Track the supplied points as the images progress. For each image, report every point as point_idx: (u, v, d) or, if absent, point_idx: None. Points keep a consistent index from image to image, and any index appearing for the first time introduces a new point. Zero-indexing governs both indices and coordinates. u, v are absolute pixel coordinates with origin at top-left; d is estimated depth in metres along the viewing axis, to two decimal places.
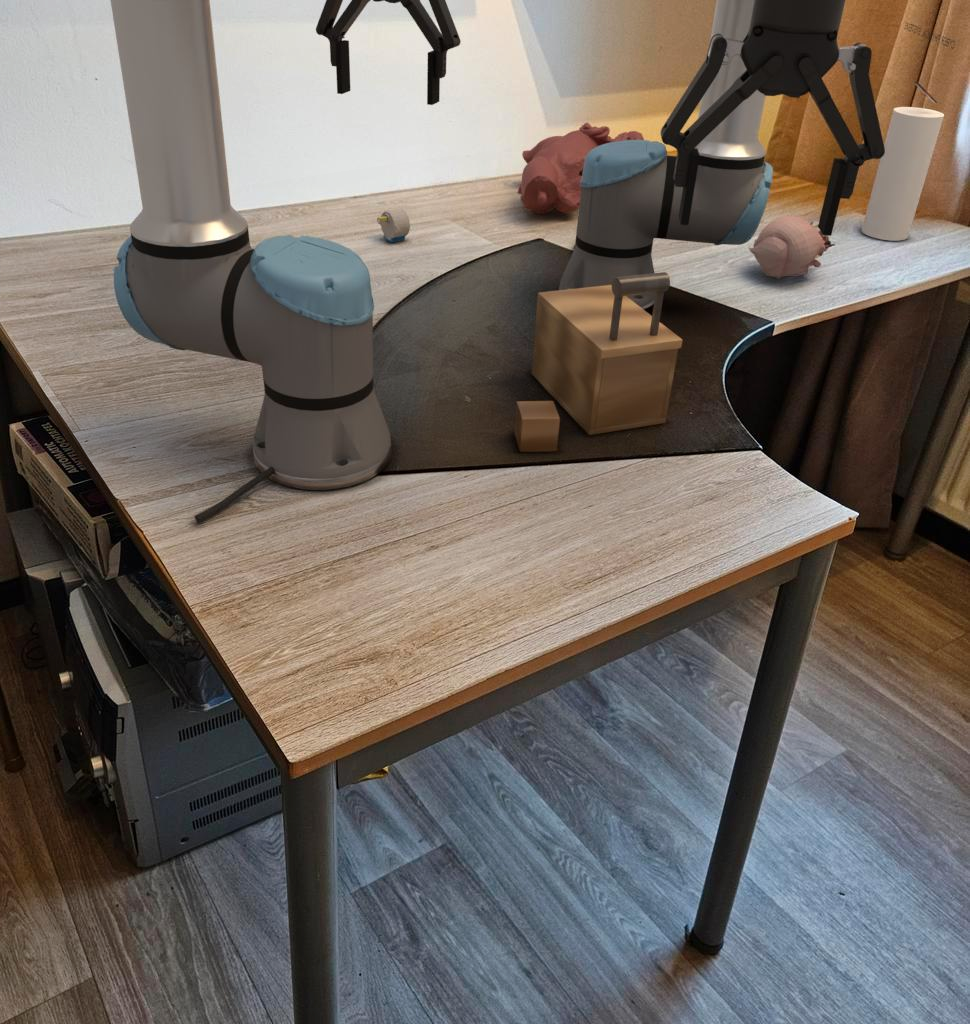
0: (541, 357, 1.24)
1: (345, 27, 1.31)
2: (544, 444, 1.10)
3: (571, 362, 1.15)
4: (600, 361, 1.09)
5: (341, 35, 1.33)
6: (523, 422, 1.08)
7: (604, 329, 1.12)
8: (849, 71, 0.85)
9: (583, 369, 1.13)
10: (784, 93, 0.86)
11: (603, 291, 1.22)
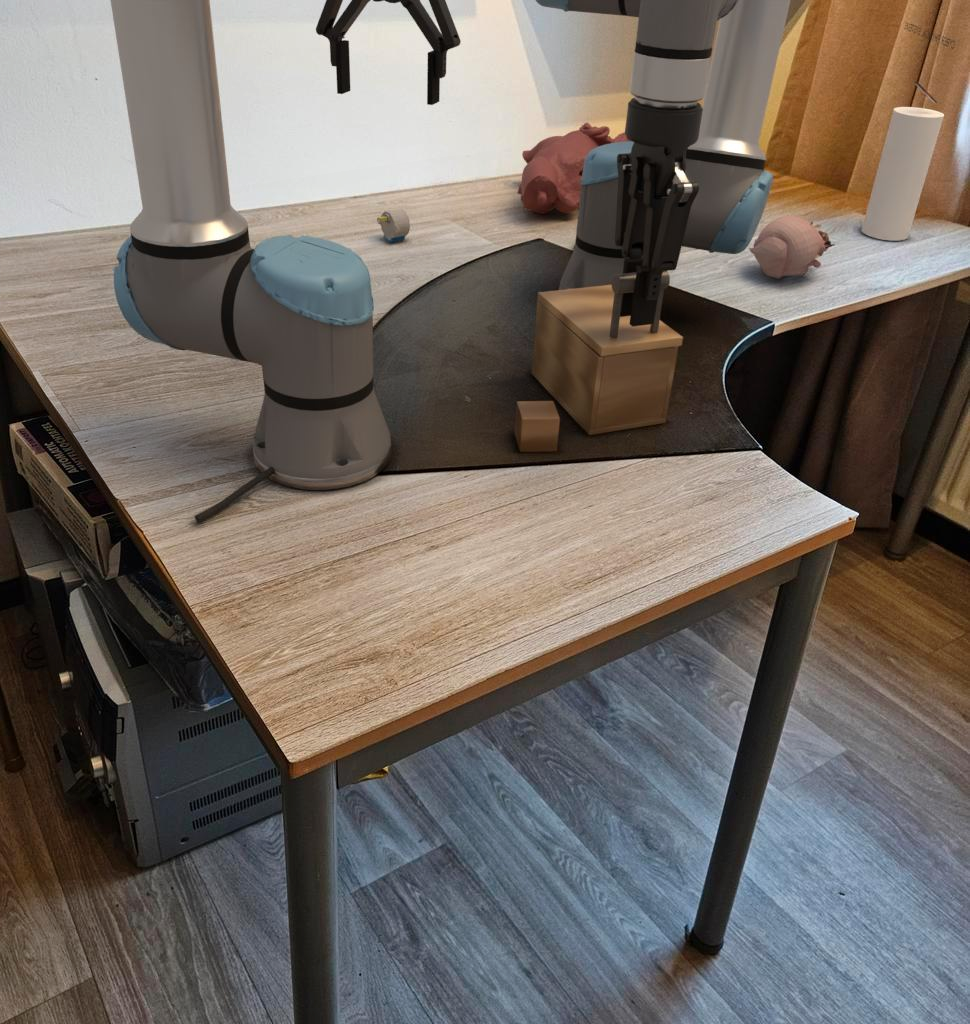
0: (541, 357, 1.24)
1: (345, 27, 1.31)
2: (544, 444, 1.10)
3: (571, 362, 1.15)
4: (600, 361, 1.09)
5: (341, 35, 1.33)
6: (523, 422, 1.08)
7: (604, 327, 1.12)
8: None
9: (583, 369, 1.13)
10: None
11: (603, 291, 1.22)
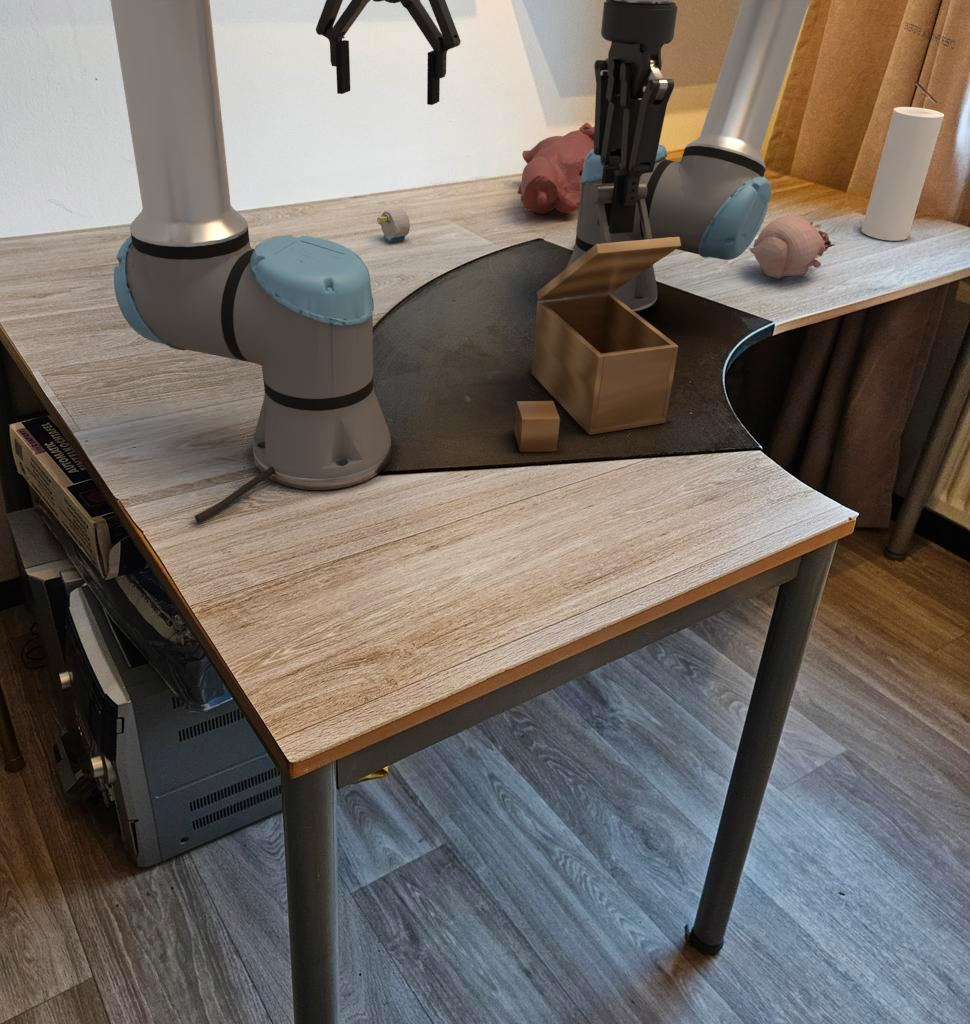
0: (541, 357, 1.24)
1: (345, 27, 1.31)
2: (544, 444, 1.10)
3: (571, 361, 1.15)
4: (600, 361, 1.09)
5: (341, 35, 1.33)
6: (523, 422, 1.08)
7: None
8: None
9: (583, 369, 1.13)
10: None
11: None
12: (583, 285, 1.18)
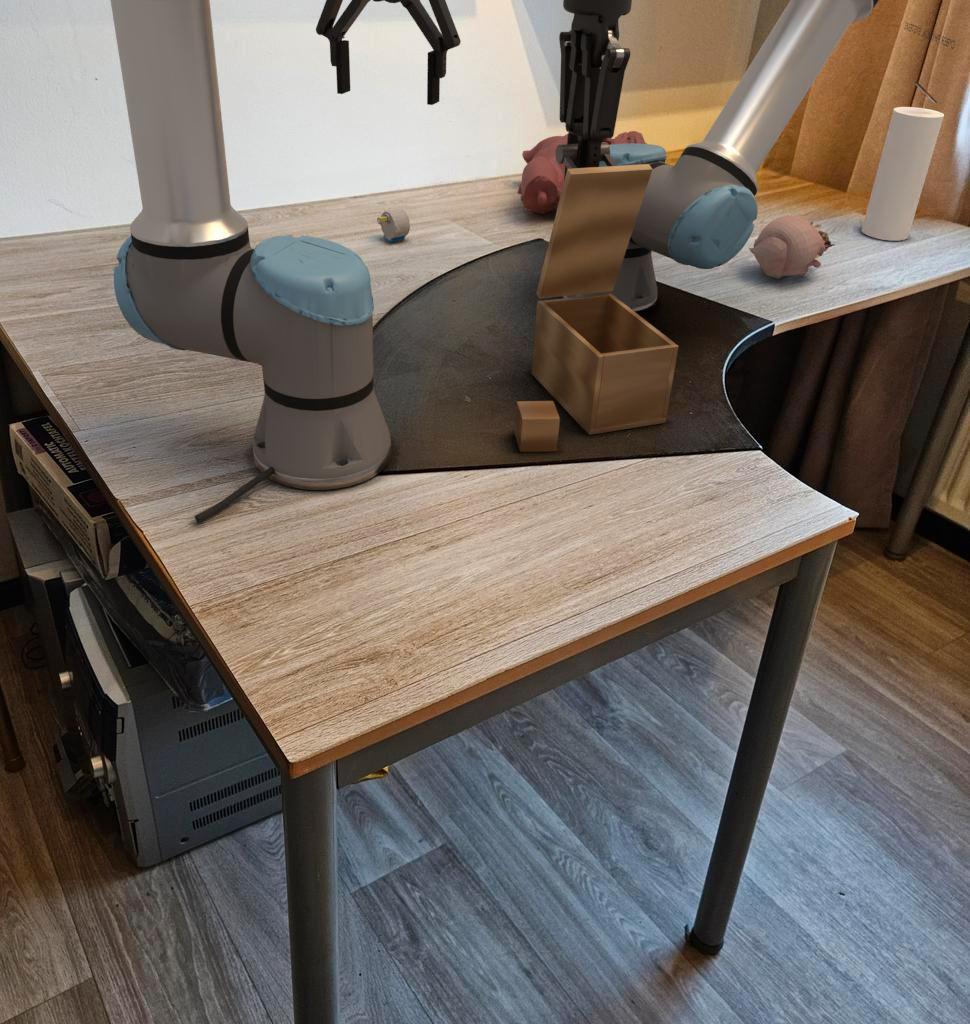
0: (541, 357, 1.24)
1: (345, 27, 1.31)
2: (544, 444, 1.10)
3: (571, 361, 1.15)
4: (600, 361, 1.09)
5: (341, 35, 1.33)
6: (523, 422, 1.08)
7: None
8: None
9: (583, 369, 1.13)
10: None
11: None
12: (577, 263, 1.19)
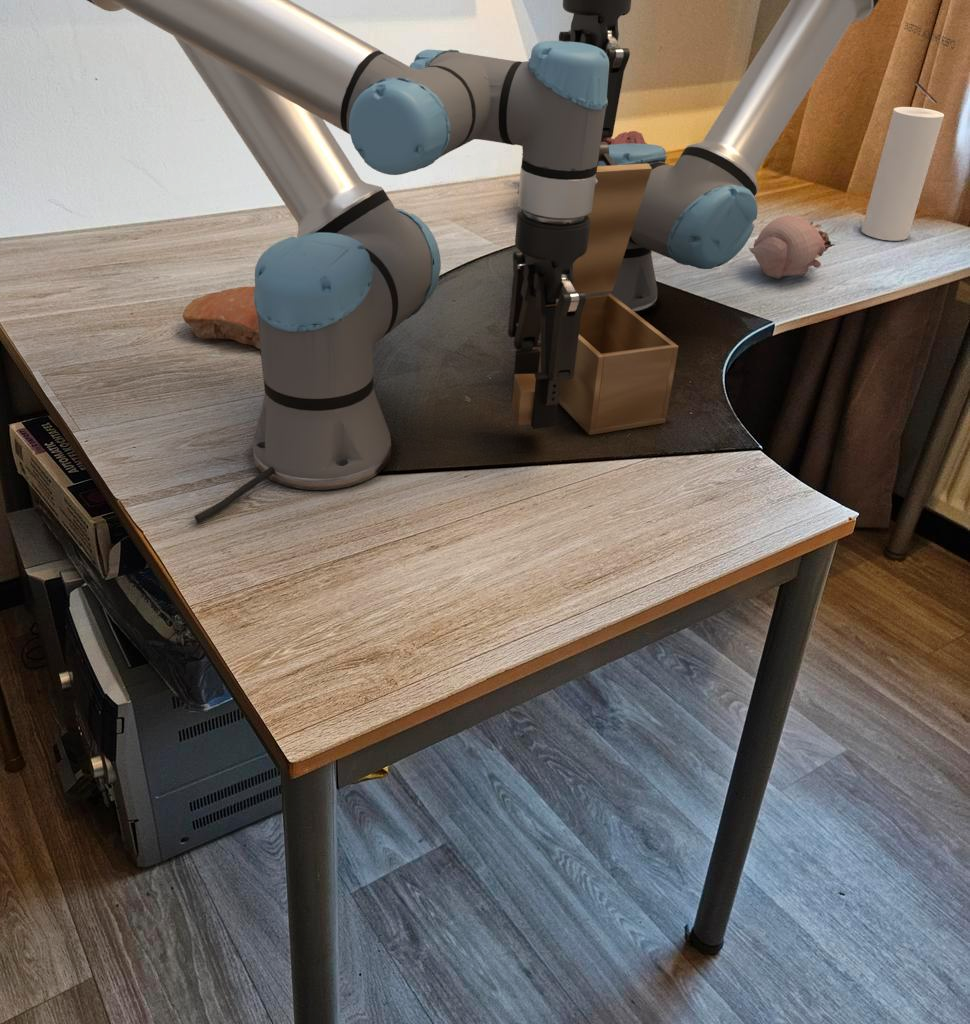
0: None
1: (525, 331, 1.07)
2: None
3: None
4: (600, 361, 1.09)
5: (531, 342, 1.09)
6: (522, 394, 1.07)
7: None
8: None
9: (583, 369, 1.13)
10: None
11: None
12: (576, 263, 1.19)
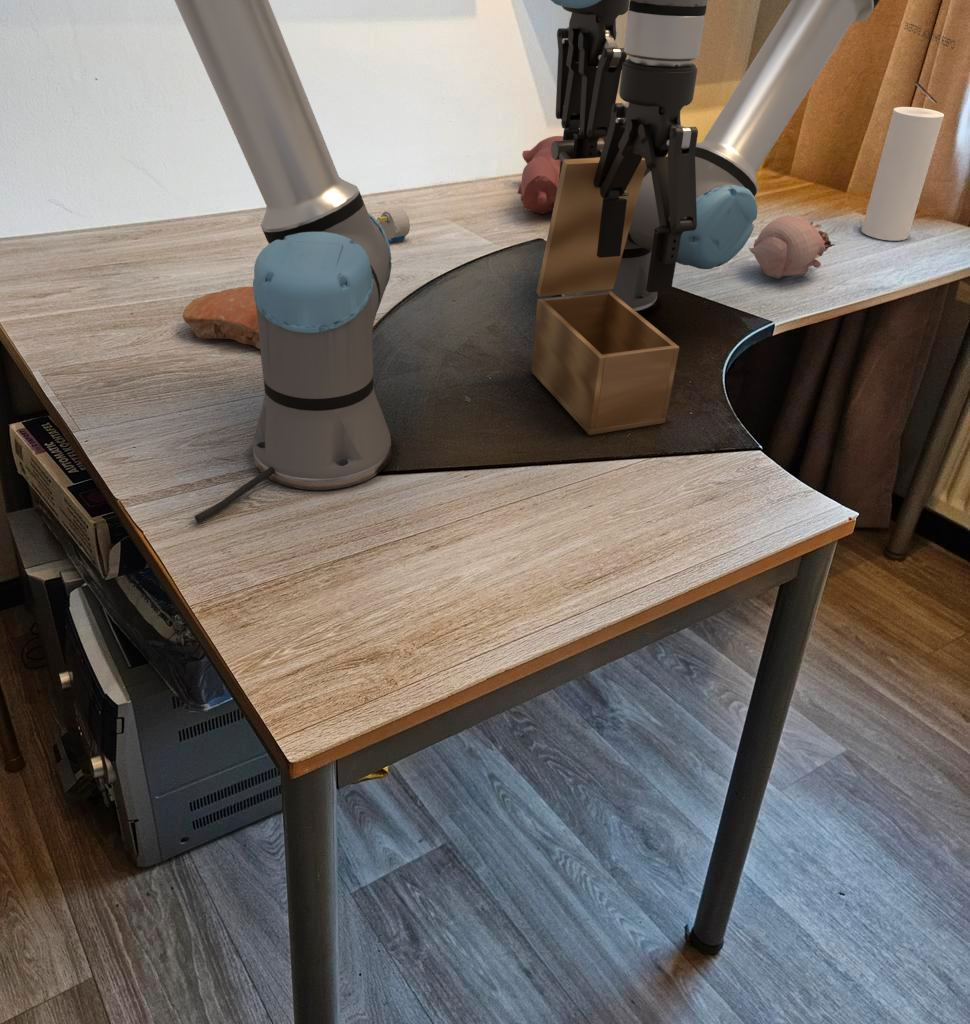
0: (541, 355, 1.23)
1: (615, 182, 1.07)
2: None
3: (572, 361, 1.15)
4: (601, 362, 1.09)
5: (618, 191, 1.09)
6: None
7: None
8: None
9: (584, 369, 1.13)
10: None
11: None
12: (576, 259, 1.18)
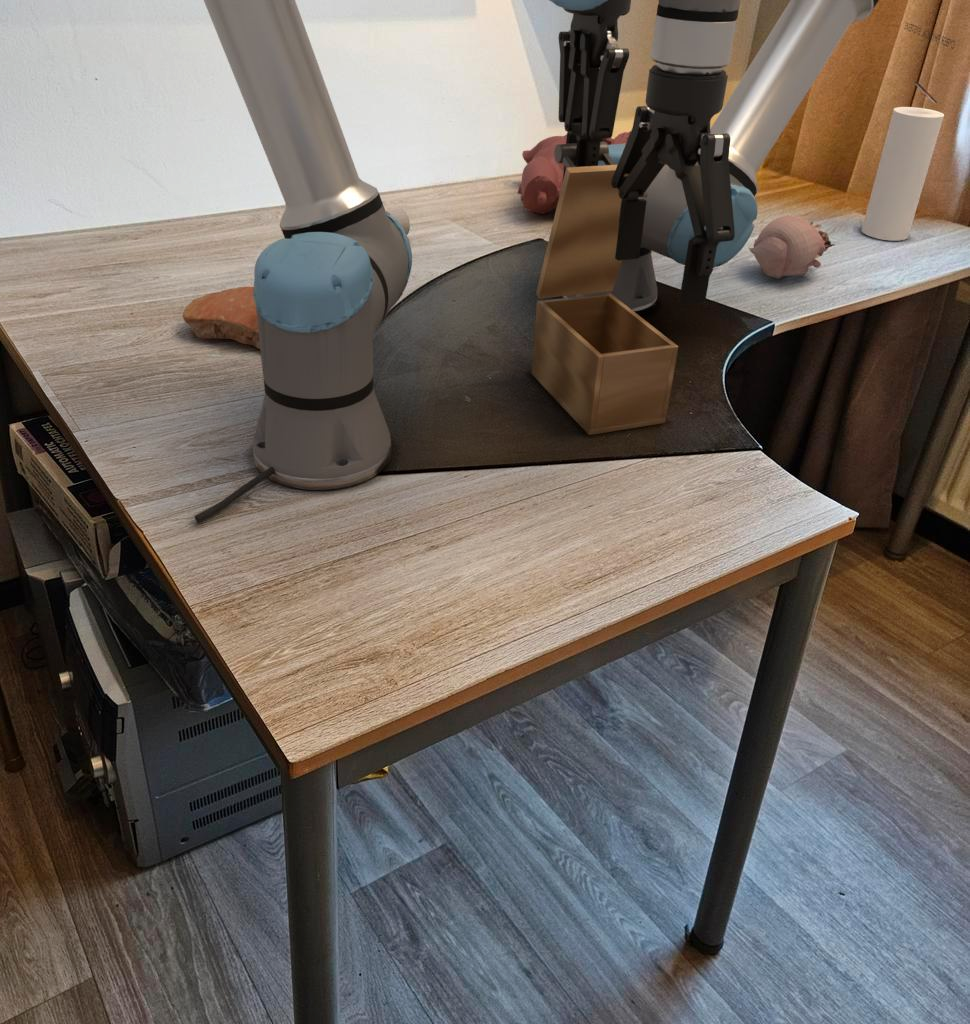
0: (541, 357, 1.24)
1: (635, 185, 1.04)
2: None
3: (571, 361, 1.15)
4: (600, 361, 1.09)
5: (637, 193, 1.06)
6: None
7: None
8: None
9: (583, 369, 1.13)
10: None
11: None
12: (576, 263, 1.19)
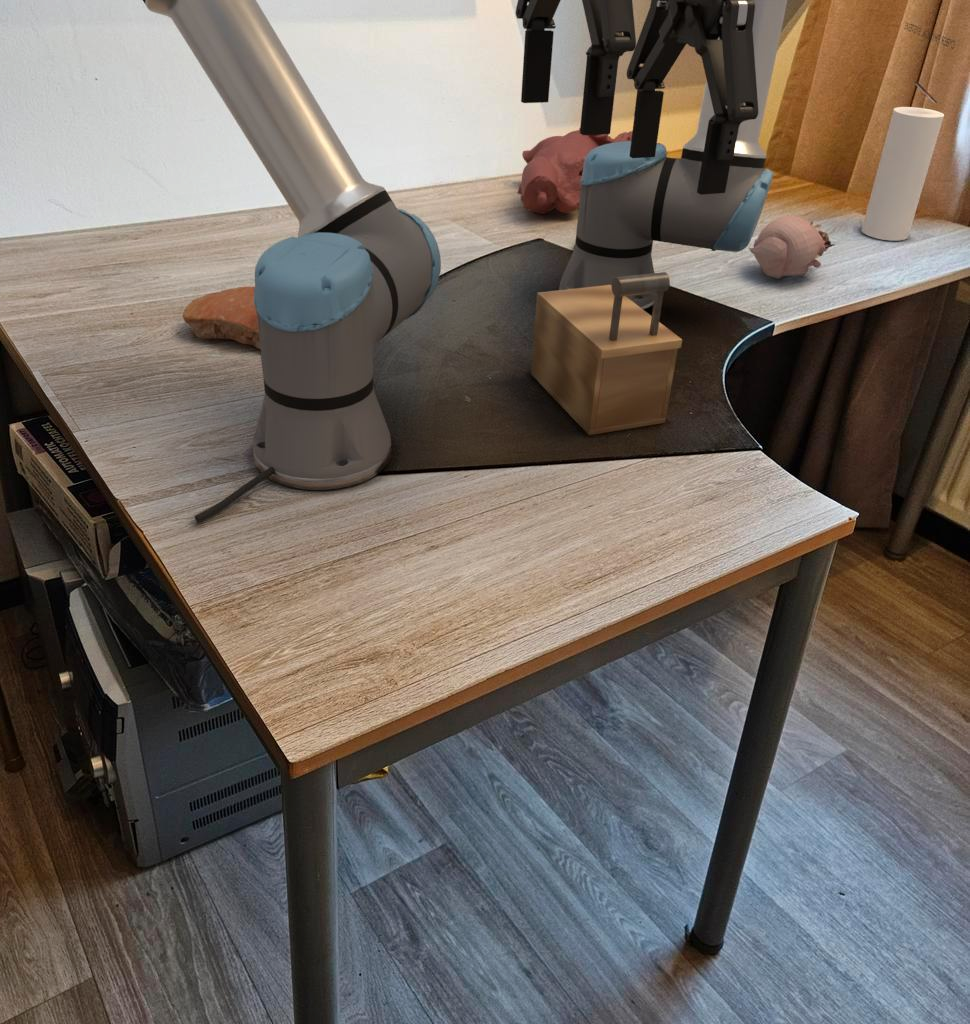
0: (540, 357, 1.24)
1: (538, 10, 0.92)
2: None
3: (571, 362, 1.15)
4: (600, 361, 1.09)
5: (543, 22, 0.94)
6: None
7: (604, 329, 1.12)
8: None
9: (583, 369, 1.13)
10: None
11: (602, 291, 1.22)
12: None
